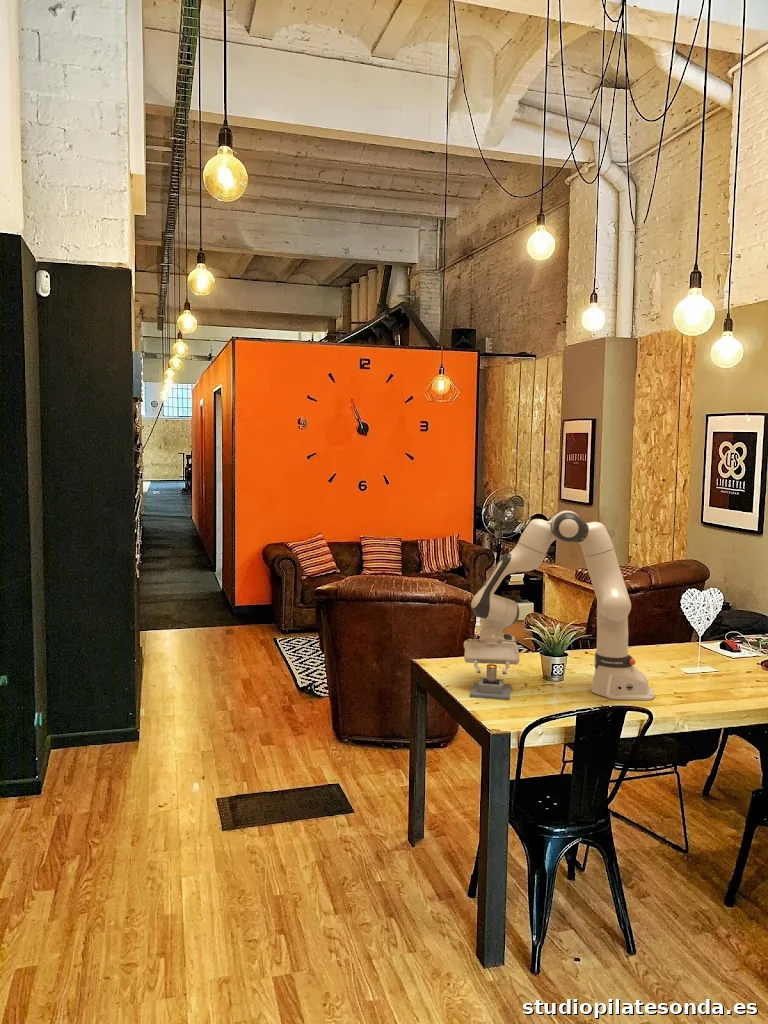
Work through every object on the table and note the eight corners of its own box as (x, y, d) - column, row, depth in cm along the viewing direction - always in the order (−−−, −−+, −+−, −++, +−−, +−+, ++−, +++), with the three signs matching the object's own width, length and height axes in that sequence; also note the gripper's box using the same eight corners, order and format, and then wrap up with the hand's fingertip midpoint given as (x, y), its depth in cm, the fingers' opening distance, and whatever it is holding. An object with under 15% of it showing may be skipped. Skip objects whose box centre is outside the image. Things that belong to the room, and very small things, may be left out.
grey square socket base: (511, 687, 289) (511, 677, 288) (509, 700, 275) (509, 689, 275) (473, 685, 292) (473, 674, 291) (469, 697, 278) (470, 686, 278)
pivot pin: (496, 688, 285) (497, 664, 284) (495, 691, 281) (496, 667, 280) (486, 687, 285) (487, 663, 285) (485, 690, 282) (486, 666, 281)
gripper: (463, 634, 290) (462, 667, 281) (519, 636, 287) (519, 670, 278) (463, 643, 295) (462, 675, 286) (518, 645, 292) (519, 678, 283)
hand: (491, 673), depth 282 cm, fingers open, 8 cm apart
